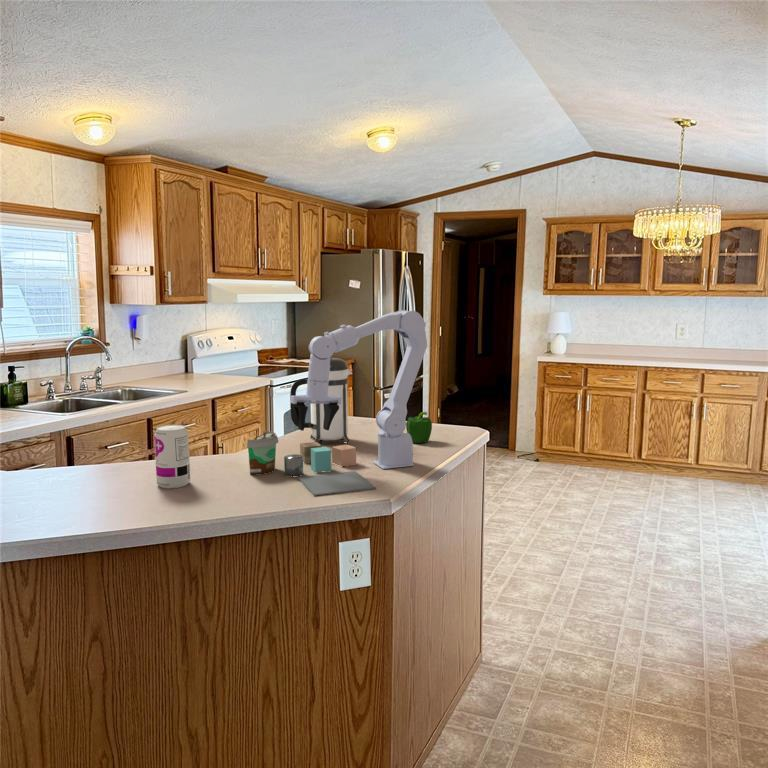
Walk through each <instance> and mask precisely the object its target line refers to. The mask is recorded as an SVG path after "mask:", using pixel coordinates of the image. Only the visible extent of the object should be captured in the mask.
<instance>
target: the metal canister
mask: <svg viewBox="0 0 768 768" xmlns="http://www.w3.org/2000/svg"><path fill="white" fill-rule="evenodd" d="M283 461H284V462H283V463H284V465H283V467H284V476H285V475H286V476H292V477H291V478H294V477H293V476H300V475H302V474H303V475H304V463H303V456H302V455H300V454H296V453H295V454H287V455H285V456H284V457H283ZM303 475H302V476H303ZM286 476H285V477H286ZM300 477H301V476H300Z"/></svg>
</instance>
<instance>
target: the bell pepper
mask: <svg viewBox="0 0 768 768" xmlns="http://www.w3.org/2000/svg"><path fill="white" fill-rule="evenodd" d="M423 415H425V416H426V417H425V416H424V417H422V416H423ZM427 415H428V412H427V411H422V412H420V413H419V414H418V416H414V417H412V416H411V417H408V418H407V421H406V428H405V430H406V433H409V434H410V435H411V438H412V443H413V444H422V443H423V444H424V443H428V442H429V440H430V437H431V435H432V429H433V422H432V420H431V418H430V417H427Z"/></svg>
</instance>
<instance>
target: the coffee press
mask: <svg viewBox="0 0 768 768" xmlns="http://www.w3.org/2000/svg"><path fill="white" fill-rule="evenodd" d="M348 375H353V372H352V371H351V369H349V365H347V362H346V360H344V359H342V358H339V357H331V358H330V373H329V384H328V395H327V396H339V397H341V398H342V400H341V404H337V405H339V410H338V411H337V413H336V414H335V416H334V418H333V420H332V422H331V425H330V428H329V430H325V429H323V423H324V405H323V404H310V421H308V422H305V427H304V429H310V431H311V435H310V439H311V438H315V439H314V442H317V443H319V444H320V445H321V443H322V442H323V441H337V440H340V441H341V442H347V444H349V443H350V439H349V437H348V432H349V428H348V427H349V426H348V423H349V418H348V414H349V412H348V410H349V409H348V408H349V407H348V384H349V377H348ZM307 382H308V378H300V379H297V380H296V381H295V382H294V383H293V384H292V386H291V388H290V395H289V398H290V400H289V401H291V396H297V391H298V388H299V387H300V386H301V385H307ZM320 402H324V401H320ZM289 404H290V418H291V421H292V423H293V424H294V426H296V427H298V422H297V417H296V414H295V411H294V408H293V406H292V403H289ZM348 442H349V443H348Z"/></svg>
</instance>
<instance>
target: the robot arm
mask: <svg viewBox="0 0 768 768" xmlns="http://www.w3.org/2000/svg"><path fill="white" fill-rule="evenodd" d="M426 325H427V324H426V322H425V320H424V318H423V317H422V315H421V314H420V313H419V312H417V311H415V310H406V309H399V310H397V311H393V312H392V311H391V312H389V313H386V314H384V315H381V316H379V317H377V318H374V319H372V320H369V321H367V322H365V323H363V324H360V325H358V326H356V327H355V326H352V325H350V324H349V325H346V324H341V325H340V326H339V327H340V328H338V329H335V330H333V331H331V332H329V331H326V332H323V334H324V336H322V335H320V336H319V335H318V336H314V337H313V338H312V339H311V341H310V343H309V344H308V346H307V347H308V351H309V353H310V357H309V363H308V371H307V379H308V382H307V384H306V385H307V386H306V392H305V393H306V394H301V395H300V394H298V395H297V394H296V396H291V401H290V400H289V401H290V403H292V406H293V408H294V411H295V414H296V417H297V422H298V426H297V429H298V430H299V431H301V432H303V431H304V430H305V428H304V427H305V423H306V415H307V412H308V409H309V407H308V406H307V405H306V404H309V405H311V404H323V405H324V423H323V429H325V430H329V428H330V425H331V422H332V420H333V418H334V416H335V414H336V413H337V411H338V410H339V405H337V404H341V400H342V398H341V397H339V396H327V395H328V384H329V373H330V358H332V356H333V354H334V353H335V354H337V353H339V352H341V351H344V350H346V349H349V348H351V347H353V346H356V345H357V344H358V343H359V340H360V339H362V338H364V337H367V336H371V335H372V334H376V333H378V332H381V331H385V330H393V331H394V330H395V331H396V332H397V333H398V334H399V335H400V336H401V337H402V338H403V340H404V342H405V344H406V349H405V352H404V355H403V358H402V361H401V363H400V365H399V370H398V373H397V375H396V377H395V380H394V383H393V386H392V389H391V392H390V394H389V397H388V398H387V400H385V402H384V404H383V406H382V408H381V409H380V410H379V411H378V412H377V414H376V416H375V423H376V425H377V426H378V428H379V429H378V432H377V444H378V445H377V455H378V456H377V458H378V459H377V460H373V462H372V463H374V464H375V465H376V466H378V467H380V468H381V469H382V470H386V469H387V470H389V469H395V468H406V467H413V466H415V465H414V462H413V460H414V458H413V455H414V454H413V453H414V451H413V450H414V449H413V448H414V447H413V446H414V443H413V442H412V438H411V435H410V434H409V433H407V432H404V431H405V430H406V422H407V421H406V419H407V414H408V409H407V403H408V401H409V398H410V396H411V393H412V390H413V386H414V384H415V381H416V379H417V376H418V373H419V371H420V367H421V364H422V361H423V359H424V356H425V353H426V350H427V348H428V339H427V332H426ZM320 401H324V402H320ZM290 403H289V404H290Z"/></svg>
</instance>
